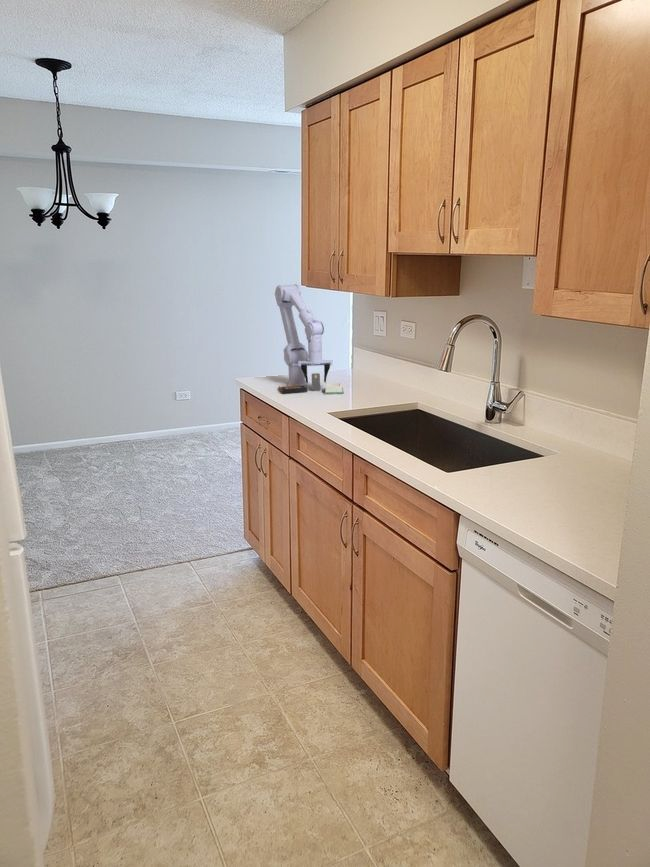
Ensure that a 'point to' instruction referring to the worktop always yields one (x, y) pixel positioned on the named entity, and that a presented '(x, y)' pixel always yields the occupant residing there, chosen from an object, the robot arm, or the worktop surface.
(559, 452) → the worktop surface
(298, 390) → the ammunition clip
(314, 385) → the plug
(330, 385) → the board
